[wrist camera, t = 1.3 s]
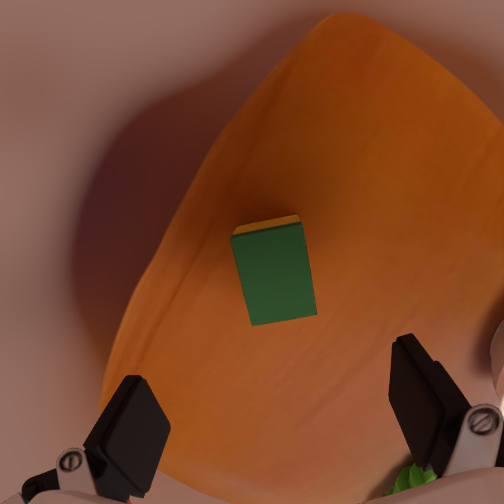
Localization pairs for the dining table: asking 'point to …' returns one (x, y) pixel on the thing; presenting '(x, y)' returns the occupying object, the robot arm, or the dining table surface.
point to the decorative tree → (411, 479)
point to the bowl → (498, 363)
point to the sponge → (274, 270)
